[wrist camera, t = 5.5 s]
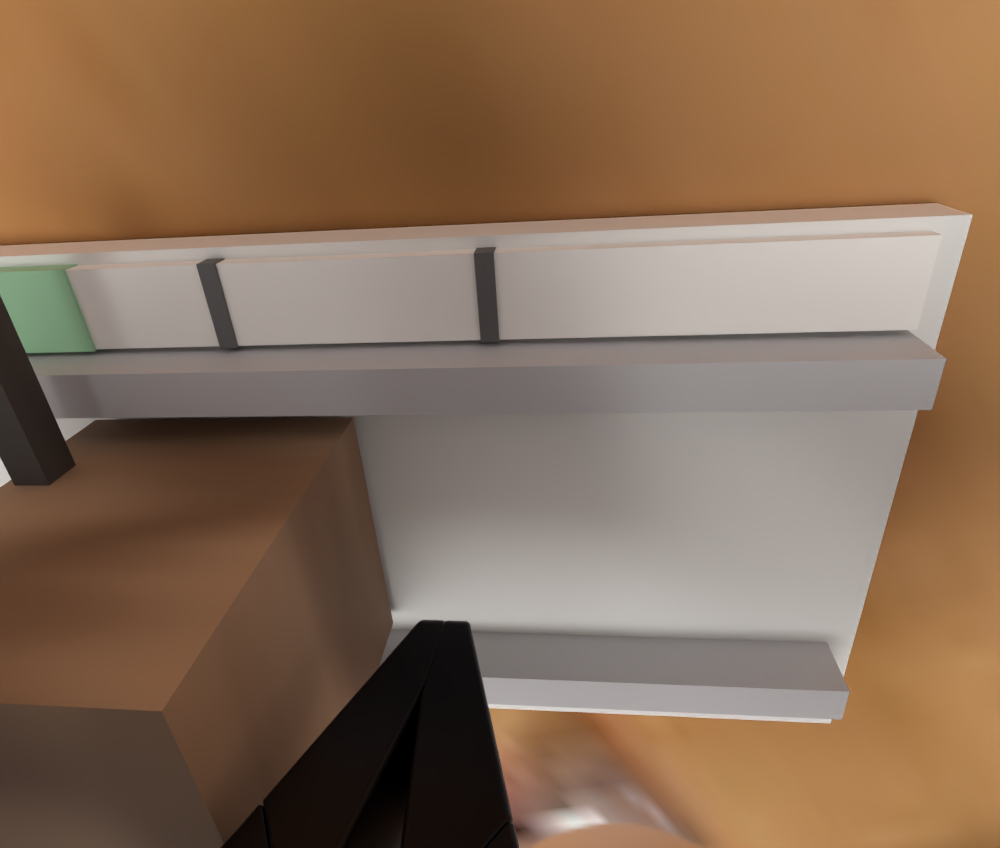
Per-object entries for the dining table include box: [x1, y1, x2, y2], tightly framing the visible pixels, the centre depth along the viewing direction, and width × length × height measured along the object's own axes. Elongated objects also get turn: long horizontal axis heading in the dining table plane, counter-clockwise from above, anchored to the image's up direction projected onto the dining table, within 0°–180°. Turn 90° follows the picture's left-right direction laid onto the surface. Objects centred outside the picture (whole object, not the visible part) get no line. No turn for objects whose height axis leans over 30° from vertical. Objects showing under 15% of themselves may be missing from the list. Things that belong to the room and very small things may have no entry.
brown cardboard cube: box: [0, 295, 393, 848], centre depth 9 cm, size 5×8×6 cm, turn 4°
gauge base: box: [0, 203, 973, 723], centre depth 11 cm, size 23×11×6 cm, turn 94°
